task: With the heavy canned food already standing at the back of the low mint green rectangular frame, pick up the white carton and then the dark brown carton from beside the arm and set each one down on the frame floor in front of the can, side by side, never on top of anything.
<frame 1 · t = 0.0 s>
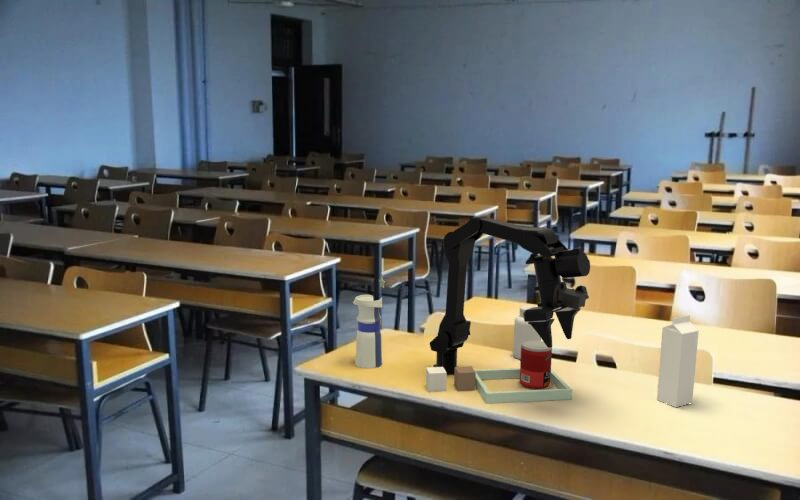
hand: (559, 343, 176), 15 cm above the table, tool pointing down, fingers open, 9 cm apart
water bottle: (368, 364, 206), on the table
milk: (674, 402, 180), on the table
canned food: (534, 385, 191), resting in mint green rectangular frame
pill bottle: (526, 357, 213), on the table
white carton: (435, 388, 188), on the table
mint green rectangular frame: (519, 388, 188), on the table
brown carton: (464, 387, 188), on the table
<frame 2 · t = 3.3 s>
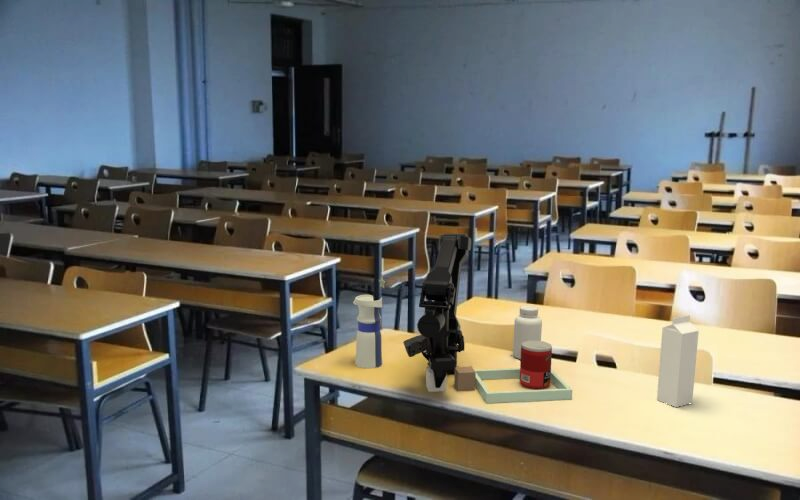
hand: (436, 384, 188), 1 cm above the table, tool pointing down, fingers closed on white carton, 4 cm apart
white carton: (435, 388, 188), on the table, touching gripper
everything else where it was.
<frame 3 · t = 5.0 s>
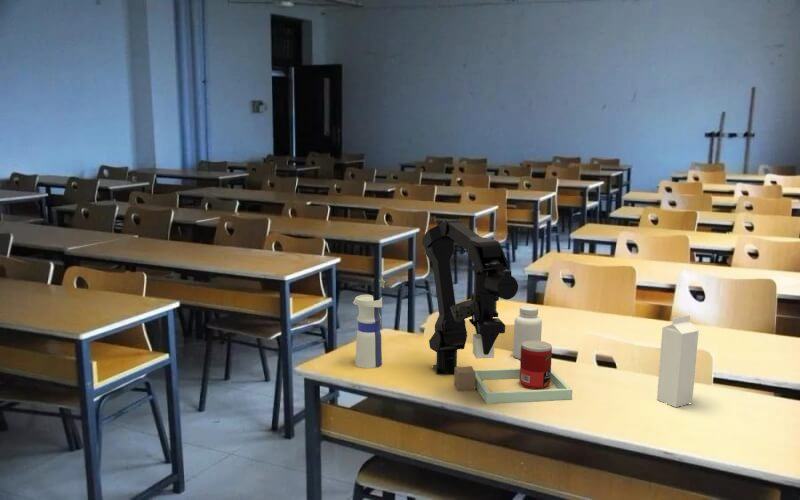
hand: (483, 351, 182), 11 cm above the table, tool pointing down, fingers closed on white carton, 4 cm apart
white carton: (483, 355, 182), point 10 cm above the table, touching gripper
everything else where it was.
when the fingers open (3 cm above the table, at t = 7.1 s): white carton drops 2 cm, resting in mint green rectangular frame.
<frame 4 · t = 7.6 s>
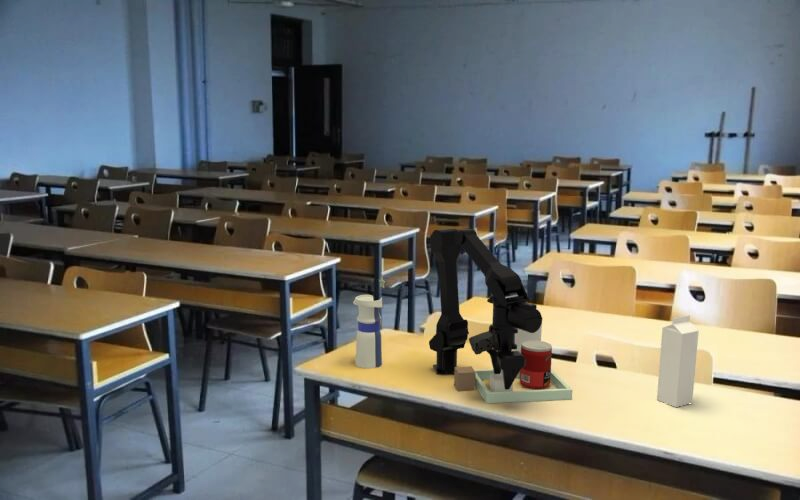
hand: (501, 382, 182), 3 cm above the table, tool pointing down, fingers open, 9 cm apart
white carton: (500, 395, 183), resting in mint green rectangular frame
everything else where it was.
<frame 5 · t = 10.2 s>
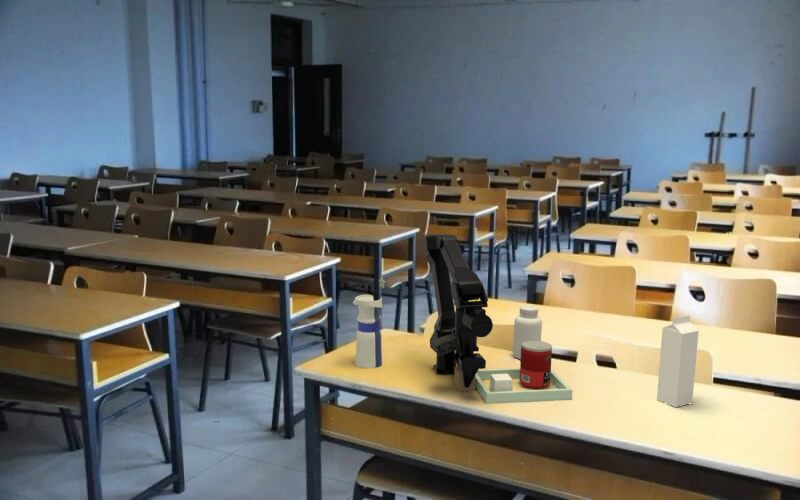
hand: (464, 383, 188), 1 cm above the table, tool pointing down, fingers closed on brown carton, 4 cm apart
brown carton: (464, 387, 188), on the table, touching gripper
everything else where it was.
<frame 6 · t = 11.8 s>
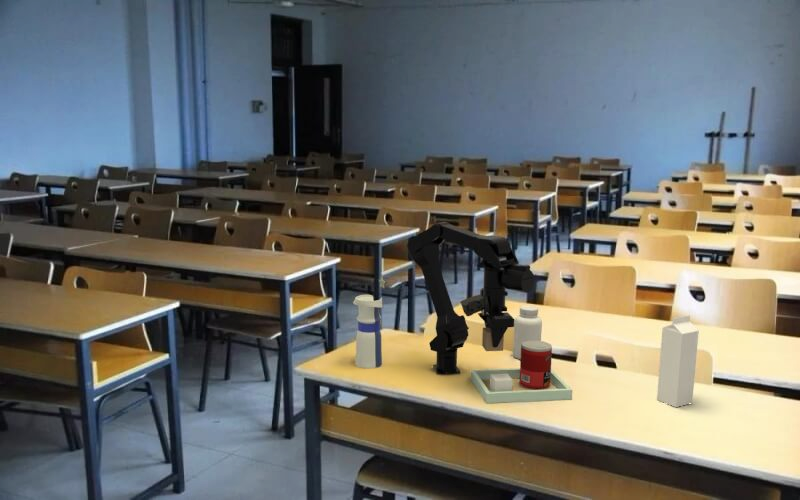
hand: (492, 344, 189), 11 cm above the table, tool pointing down, fingers closed on brown carton, 4 cm apart
brown carton: (492, 348, 189), point 10 cm above the table, touching gripper
everything else where it was.
when the fingers open (3 cm above the table, at t = 13.6 s): brown carton drops 2 cm, resting in mint green rectangular frame.
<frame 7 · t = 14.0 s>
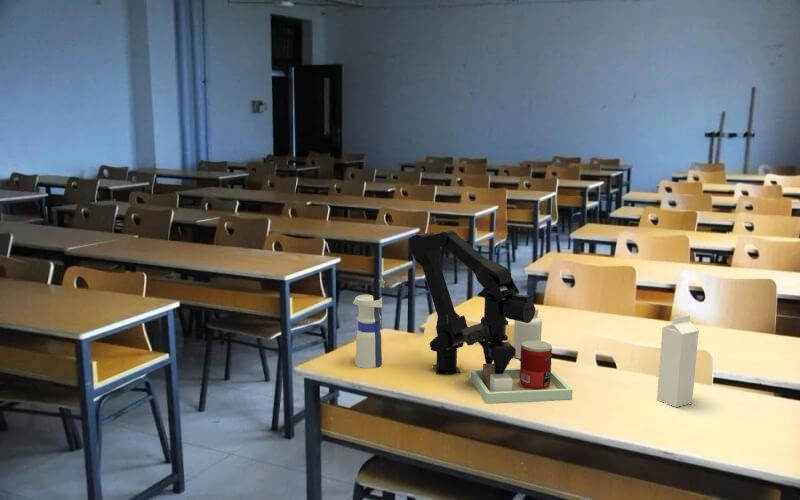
hand: (493, 372, 190), 3 cm above the table, tool pointing down, fingers open, 9 cm apart
brown carton: (492, 384, 191), resting in mint green rectangular frame
everything else where it was.
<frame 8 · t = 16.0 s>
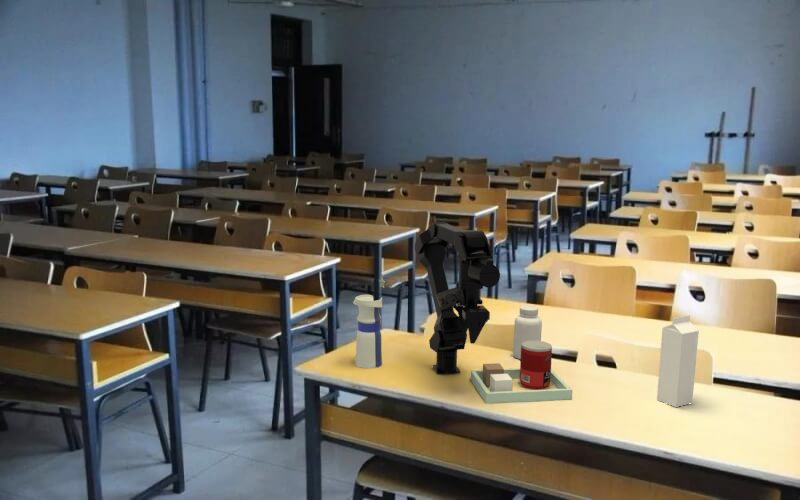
hand: (468, 337, 188), 13 cm above the table, tool pointing down, fingers open, 9 cm apart
nothing on the table moved.
at the end: white carton inside the target area (0.4 cm from its centre), resting in mint green rectangular frame; brown carton inside the target area (0.4 cm from its centre), resting in mint green rectangular frame; canned food moved 0.2 cm from its start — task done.
